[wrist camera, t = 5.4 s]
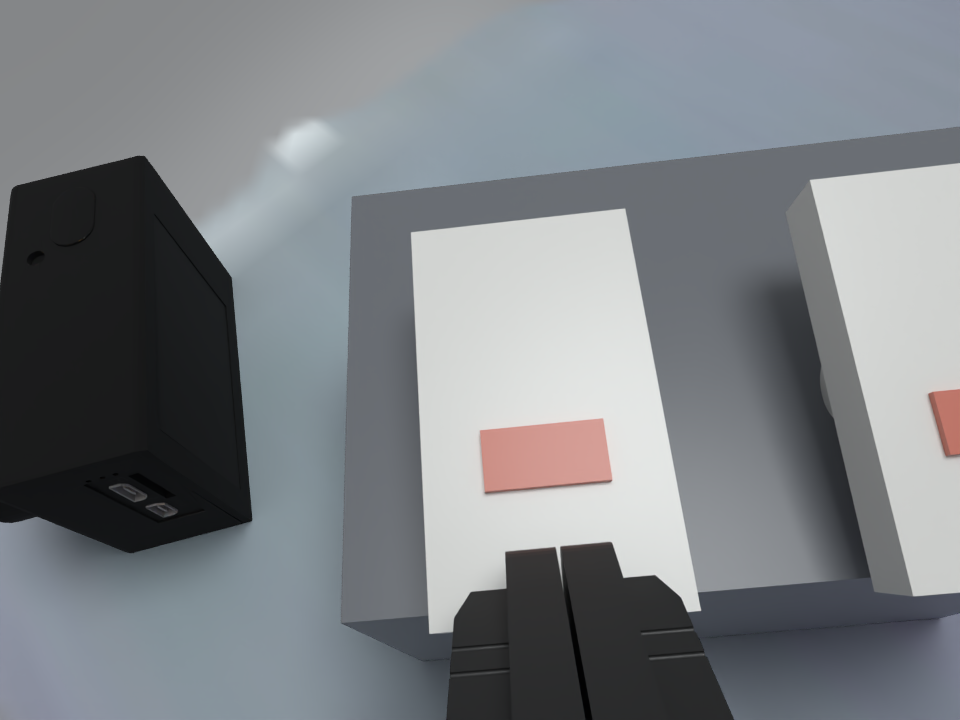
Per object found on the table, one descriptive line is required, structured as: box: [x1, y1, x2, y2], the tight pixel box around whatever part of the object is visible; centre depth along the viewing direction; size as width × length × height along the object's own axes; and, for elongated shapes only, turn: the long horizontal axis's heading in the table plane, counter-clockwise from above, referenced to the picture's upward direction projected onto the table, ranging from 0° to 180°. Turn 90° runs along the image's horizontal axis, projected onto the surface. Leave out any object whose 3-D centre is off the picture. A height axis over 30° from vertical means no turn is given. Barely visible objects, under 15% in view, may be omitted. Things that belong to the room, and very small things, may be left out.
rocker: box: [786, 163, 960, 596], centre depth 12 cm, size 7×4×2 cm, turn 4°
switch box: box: [341, 127, 960, 661], centre depth 18 cm, size 10×15×9 cm, turn 94°
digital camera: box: [0, 156, 252, 553], centre depth 22 cm, size 10×5×7 cm, turn 14°
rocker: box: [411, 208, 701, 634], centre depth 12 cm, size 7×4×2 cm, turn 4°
